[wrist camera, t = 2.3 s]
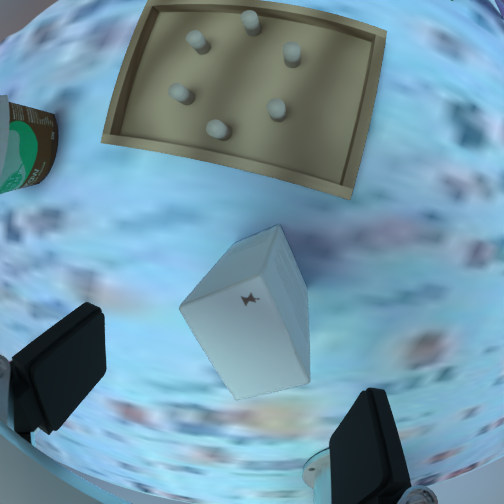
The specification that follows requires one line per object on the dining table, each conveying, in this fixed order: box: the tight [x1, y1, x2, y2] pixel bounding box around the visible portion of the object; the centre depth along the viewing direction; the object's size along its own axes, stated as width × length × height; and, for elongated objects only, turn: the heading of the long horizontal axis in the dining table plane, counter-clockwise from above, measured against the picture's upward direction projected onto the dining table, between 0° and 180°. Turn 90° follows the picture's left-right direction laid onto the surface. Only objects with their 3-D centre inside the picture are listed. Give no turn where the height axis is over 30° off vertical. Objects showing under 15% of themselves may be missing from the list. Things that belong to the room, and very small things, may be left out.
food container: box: [0, 95, 58, 194], centre depth 20 cm, size 12×6×10 cm, turn 126°
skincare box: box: [179, 225, 310, 400], centre depth 18 cm, size 6×4×12 cm
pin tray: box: [101, 0, 387, 200], centre depth 19 cm, size 20×14×4 cm
